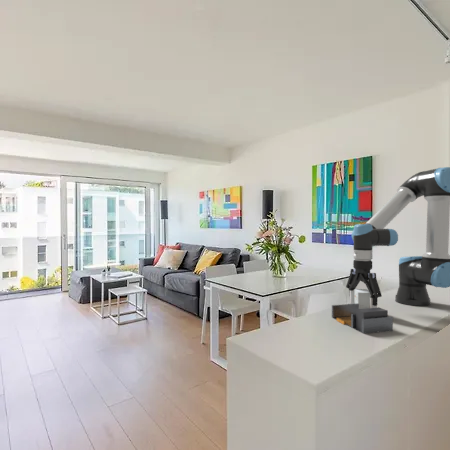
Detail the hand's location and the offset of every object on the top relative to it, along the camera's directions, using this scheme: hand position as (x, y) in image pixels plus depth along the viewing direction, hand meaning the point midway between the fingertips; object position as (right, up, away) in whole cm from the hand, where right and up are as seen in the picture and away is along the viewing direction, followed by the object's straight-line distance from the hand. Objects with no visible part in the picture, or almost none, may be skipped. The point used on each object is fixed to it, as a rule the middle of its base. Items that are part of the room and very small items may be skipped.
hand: (362, 308), depth 137 cm
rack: (-7, -3, -15) cm, 17 cm away
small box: (0, -3, 0) cm, 3 cm away
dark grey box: (-6, -2, -21) cm, 22 cm away
